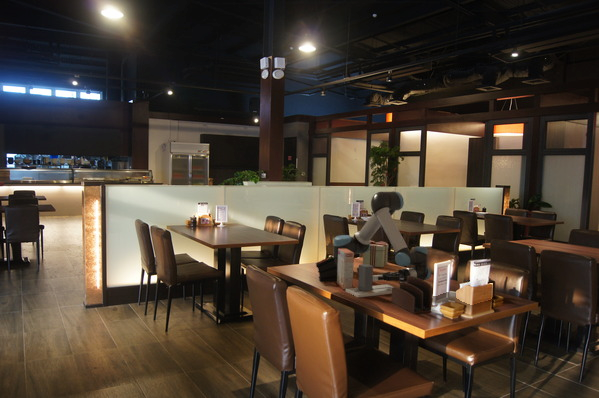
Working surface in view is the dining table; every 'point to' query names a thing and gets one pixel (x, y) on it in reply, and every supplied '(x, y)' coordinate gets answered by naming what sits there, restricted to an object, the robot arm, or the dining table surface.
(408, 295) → the letter holder
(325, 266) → the black piece
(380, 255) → the gift box
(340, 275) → the cracker box
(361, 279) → the slider knob
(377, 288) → the switch board
